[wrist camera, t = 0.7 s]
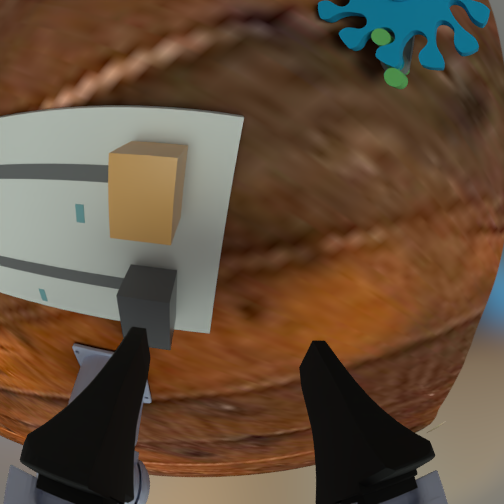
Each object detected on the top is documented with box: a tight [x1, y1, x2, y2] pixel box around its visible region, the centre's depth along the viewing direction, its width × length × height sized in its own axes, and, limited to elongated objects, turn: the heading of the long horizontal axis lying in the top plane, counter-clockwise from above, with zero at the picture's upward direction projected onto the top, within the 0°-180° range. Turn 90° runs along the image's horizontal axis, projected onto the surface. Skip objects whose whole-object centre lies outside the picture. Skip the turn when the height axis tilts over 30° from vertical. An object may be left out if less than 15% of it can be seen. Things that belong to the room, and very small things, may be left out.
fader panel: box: [0, 105, 244, 333], centre depth 16 cm, size 15×22×2 cm
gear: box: [318, 0, 490, 89], centre depth 9 cm, size 11×6×10 cm
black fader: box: [116, 264, 177, 350], centre depth 16 cm, size 4×3×3 cm
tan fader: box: [108, 141, 188, 245], centre depth 12 cm, size 4×3×3 cm
